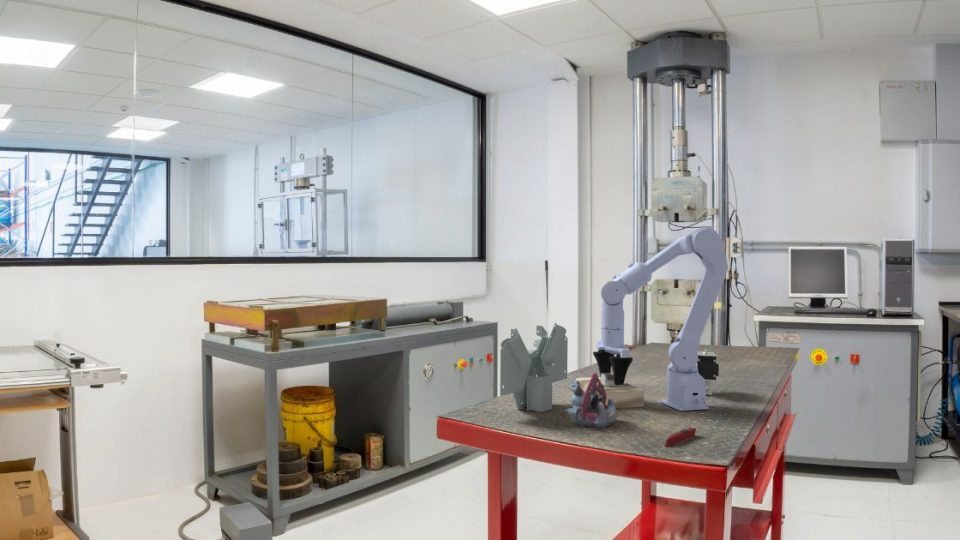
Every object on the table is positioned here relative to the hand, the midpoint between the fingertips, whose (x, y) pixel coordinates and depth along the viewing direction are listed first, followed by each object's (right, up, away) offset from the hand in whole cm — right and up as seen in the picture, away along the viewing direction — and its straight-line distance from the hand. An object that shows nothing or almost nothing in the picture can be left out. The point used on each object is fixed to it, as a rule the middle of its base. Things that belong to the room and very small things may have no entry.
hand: (611, 381), depth 155 cm
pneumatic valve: (+28, -5, +9) cm, 30 cm away
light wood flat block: (0, -5, +2) cm, 5 cm away
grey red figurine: (-9, -6, -20) cm, 23 cm away
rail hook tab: (0, -5, 0) cm, 5 cm away
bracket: (-20, -5, -7) cm, 22 cm away
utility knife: (+7, -6, -33) cm, 34 cm away
